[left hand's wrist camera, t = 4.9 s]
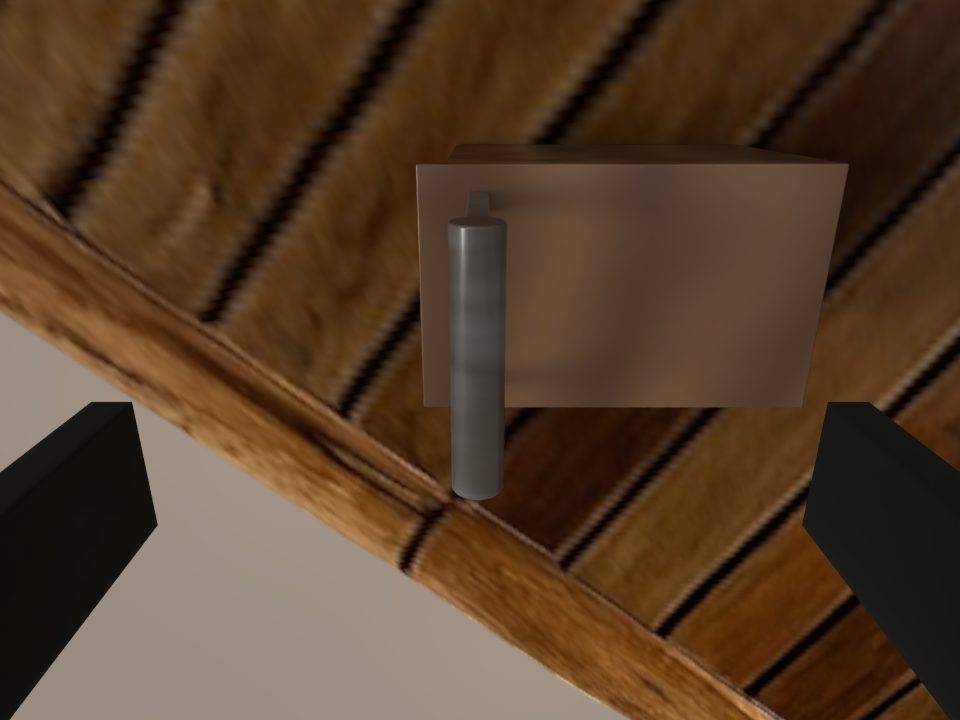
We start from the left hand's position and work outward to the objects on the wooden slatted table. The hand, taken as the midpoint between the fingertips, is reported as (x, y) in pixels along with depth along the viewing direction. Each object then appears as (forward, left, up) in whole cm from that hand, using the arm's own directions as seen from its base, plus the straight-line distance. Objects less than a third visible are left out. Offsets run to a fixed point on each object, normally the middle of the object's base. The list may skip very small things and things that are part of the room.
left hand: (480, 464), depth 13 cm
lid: (-3, +4, -13) cm, 14 cm away
